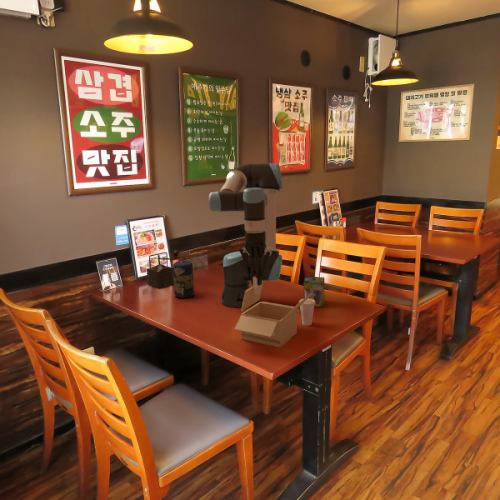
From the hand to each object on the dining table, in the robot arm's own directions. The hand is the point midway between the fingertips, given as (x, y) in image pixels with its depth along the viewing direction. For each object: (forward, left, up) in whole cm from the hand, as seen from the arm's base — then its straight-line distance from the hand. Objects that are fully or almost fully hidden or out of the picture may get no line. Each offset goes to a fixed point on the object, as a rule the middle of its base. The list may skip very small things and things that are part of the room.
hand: (256, 292), depth 159 cm
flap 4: (+17, 0, -2) cm, 17 cm away
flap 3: (+5, +10, -8) cm, 14 cm away
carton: (+5, 0, -16) cm, 17 cm away
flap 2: (+5, -11, -8) cm, 14 cm away
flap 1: (-2, 0, -1) cm, 2 cm away
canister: (-54, +23, -17) cm, 61 cm away
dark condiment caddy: (-76, +34, -17) cm, 85 cm away
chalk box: (+7, +40, -17) cm, 44 cm away
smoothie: (+13, +17, -17) cm, 27 cm away
